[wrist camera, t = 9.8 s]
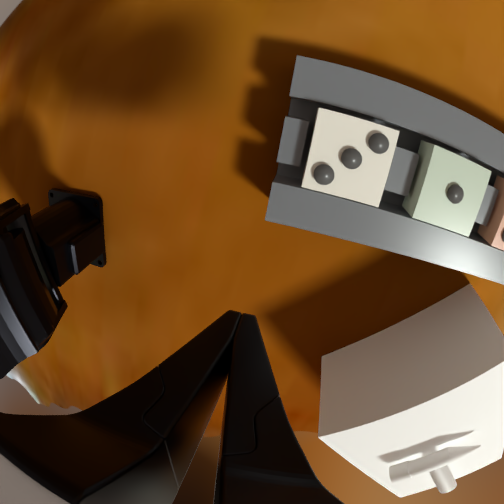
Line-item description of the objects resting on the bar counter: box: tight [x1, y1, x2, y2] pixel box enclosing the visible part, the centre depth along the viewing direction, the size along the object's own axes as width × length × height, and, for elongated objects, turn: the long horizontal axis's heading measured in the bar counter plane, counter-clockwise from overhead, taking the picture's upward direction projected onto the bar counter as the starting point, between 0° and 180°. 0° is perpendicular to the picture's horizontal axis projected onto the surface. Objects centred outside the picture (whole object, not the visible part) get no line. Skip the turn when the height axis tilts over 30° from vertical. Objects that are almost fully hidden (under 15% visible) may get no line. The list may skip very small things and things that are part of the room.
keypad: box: [265, 55, 504, 284], centre depth 15 cm, size 19×9×4 cm, turn 80°
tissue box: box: [318, 284, 504, 497], centre depth 21 cm, size 14×25×11 cm, turn 37°
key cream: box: [302, 108, 400, 207], centre depth 14 cm, size 4×4×2 cm
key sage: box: [402, 140, 492, 237], centre depth 13 cm, size 4×4×2 cm
